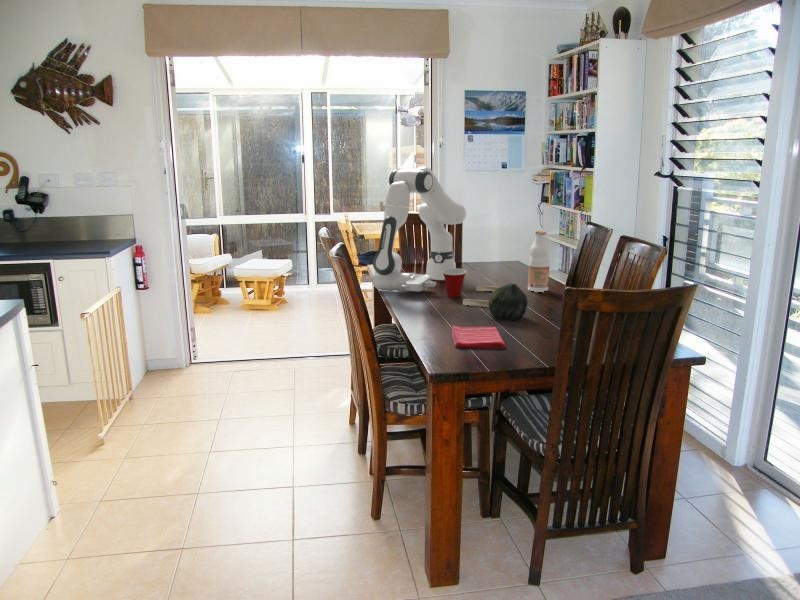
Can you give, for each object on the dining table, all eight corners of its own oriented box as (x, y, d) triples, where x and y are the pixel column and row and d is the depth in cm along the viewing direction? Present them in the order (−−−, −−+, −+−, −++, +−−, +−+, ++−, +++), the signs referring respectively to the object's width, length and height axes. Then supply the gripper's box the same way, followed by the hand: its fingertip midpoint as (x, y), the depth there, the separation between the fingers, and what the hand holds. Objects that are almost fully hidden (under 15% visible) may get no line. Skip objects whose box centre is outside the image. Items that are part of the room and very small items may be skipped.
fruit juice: (523, 290, 304) (526, 231, 297) (537, 287, 309) (540, 229, 302) (537, 293, 296) (541, 233, 290) (552, 291, 301) (555, 231, 295)
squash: (486, 298, 262) (491, 276, 249) (523, 300, 261) (530, 278, 249) (487, 327, 253) (492, 306, 241) (525, 329, 253) (532, 308, 241)
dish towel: (455, 350, 214) (455, 342, 213) (450, 331, 237) (450, 324, 236) (506, 350, 214) (506, 342, 213) (496, 331, 237) (496, 324, 236)
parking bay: (476, 290, 303) (476, 285, 302) (516, 293, 297) (516, 287, 297) (462, 305, 274) (462, 299, 273) (506, 308, 268) (506, 302, 268)
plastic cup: (438, 297, 287) (439, 271, 285) (445, 293, 297) (446, 267, 294) (462, 299, 284) (463, 273, 281) (468, 294, 294) (469, 269, 291)
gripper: (399, 280, 286) (429, 281, 281) (412, 271, 305) (441, 273, 300) (399, 293, 287) (429, 295, 283) (412, 284, 306) (440, 286, 302)
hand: (435, 284), depth 292 cm, fingers closed
